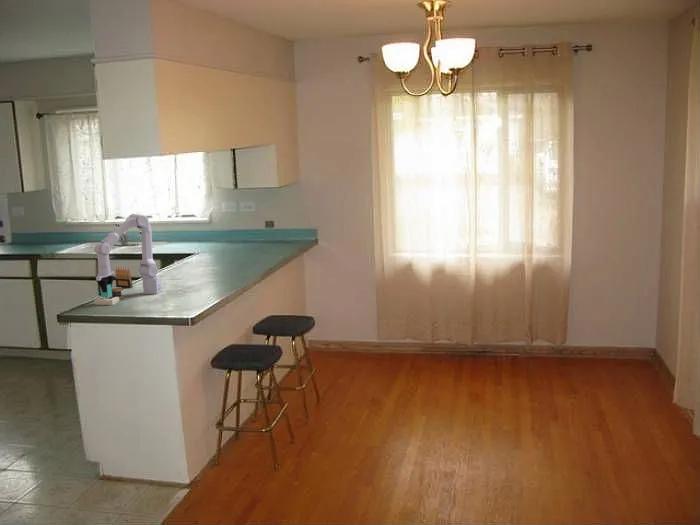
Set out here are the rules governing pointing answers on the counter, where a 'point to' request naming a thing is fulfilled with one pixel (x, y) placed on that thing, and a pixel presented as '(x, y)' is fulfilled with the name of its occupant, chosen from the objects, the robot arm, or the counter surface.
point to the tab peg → (107, 291)
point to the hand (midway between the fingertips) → (107, 291)
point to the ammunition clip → (123, 278)
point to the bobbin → (117, 293)
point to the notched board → (106, 301)
